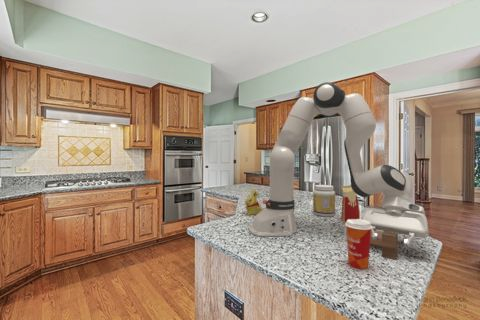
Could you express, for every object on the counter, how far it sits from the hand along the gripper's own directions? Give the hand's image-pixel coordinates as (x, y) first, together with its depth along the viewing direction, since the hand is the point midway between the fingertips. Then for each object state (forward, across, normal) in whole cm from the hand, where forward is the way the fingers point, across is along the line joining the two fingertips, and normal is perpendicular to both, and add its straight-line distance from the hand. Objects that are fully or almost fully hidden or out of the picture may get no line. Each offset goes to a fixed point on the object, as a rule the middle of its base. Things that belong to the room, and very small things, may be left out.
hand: (390, 242), depth 82 cm
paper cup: (+14, -6, -6) cm, 16 cm away
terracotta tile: (-6, -7, +13) cm, 15 cm away
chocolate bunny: (-5, -70, +12) cm, 72 cm away
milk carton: (-21, -24, +28) cm, 43 cm away
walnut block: (+4, 0, +3) cm, 5 cm away
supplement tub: (-25, -40, +32) cm, 57 cm away
